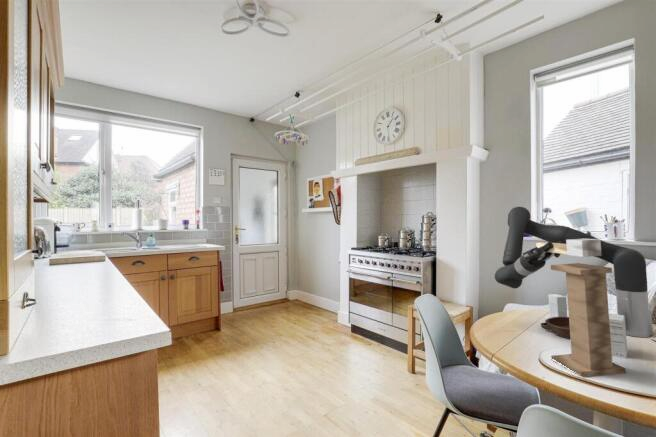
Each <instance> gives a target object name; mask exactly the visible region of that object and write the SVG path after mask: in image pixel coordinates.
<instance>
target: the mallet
mask: <svg viewBox="0 0 656 437" xmlns="http://www.w3.org/2000/svg"><path fill="white" fill-rule="evenodd" d="M600 240H601V238H600V239H599V238H597V239H570V240H566V244H560V243H552V244H553V248H552V249H550V250H549V251H547V252H552V253H561V254H560V255H562V254H563V255H567V256H571V257H581V258H587V257H594V256H602V255H601V241H600ZM547 243H548V241H544V242H543V241H542V242H536V243H535V244H536V246H535V247H538V248H539V247H541V246H544V245H545V244H547Z"/></svg>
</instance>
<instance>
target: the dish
mask: <svg viewBox="0 0 656 437" xmlns="http://www.w3.org/2000/svg"><path fill="white" fill-rule="evenodd" d="M540 327H541V329H543V330H547V331H550V332H552V333H553V334H554V335H557V336H559V337H563V338H566V339H570V325H569V316H567V317H552V318H550V317H549V318H546V319H545V320H544V322H541V323H540Z"/></svg>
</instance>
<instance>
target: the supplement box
mask: <svg viewBox="0 0 656 437" xmlns="http://www.w3.org/2000/svg"><path fill="white" fill-rule="evenodd" d="M609 324H610V338H611V352H612V357H613V356H615V357H619V358H624V359H627V357H628V338H627V335H626V326H625V316H624V315H618V313H609Z"/></svg>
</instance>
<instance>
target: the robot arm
mask: <svg viewBox="0 0 656 437" xmlns="http://www.w3.org/2000/svg"><path fill="white" fill-rule="evenodd" d="M507 226H508V233H507V237H506V242H505V247H504V250H503V256H502V265H503V266H501V267H500V268H498V269H497V270H496V271H495V273H494V280H495V282H497V283H498V284H501V285H503V286H506V287H508V288H511V289H519V288H520V287H521V285H522V284H523V280H524V279H526V278H527V277H529V276H530V275H532V274H535V273H536V272H538V271H539V270H541V269H542V268H544V267H545V265H546V261H548V260H549V259H551V258H552V257H555V258H557V259H558V258H559V257H561V255H562V254H561V253H552V252H547V251H549V250H550V249H552V248H553V244H552V243H560V244H566V240H570V239H598V237H595V236H593V235H591V234H588V233H585V232H583V231H580V230H578V229H575V228H572V227H569V226H566V225H554V224H549V225H548V224H542V223H540V222H536V221H534V220H531V213H530V210H528V208H526V207H524V206H515V207H512V208H511V210H509V212H508V215H507ZM525 235H528V236H532V237H534V238H538V239H541V240H543V241H544V242H547V244H545V245H544V246H541V247H539V248H538V247H537V246H535V247H533V248H531V249H529V250H527V251H525V252H523V247H524V246H523V244H524V236H525ZM600 241H601V255H602V256H593V257H594V258H597V259H600V260H603V261H605V262H607V263H610V264H611V265H613V274H614V284H615V296H616V299H615V300H616V309H617V314H618V315H624V316H625V326H626V336H631V337H637V338H650V337H651V336H653V335H654V330H653V329H654V328H653V326H654V325H653V315H652V314H653V312H652V310H651V309H650V308H649V305H650V304H649V291H648V277H647V276H648V275H647V262H646V258H645V256H644V254H642V253H641V252H640V251H638V250H636V249H633V248H628V247H625V246H621V245H616V244H613V243H611V242H607V241H604V240H602V239H600Z"/></svg>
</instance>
